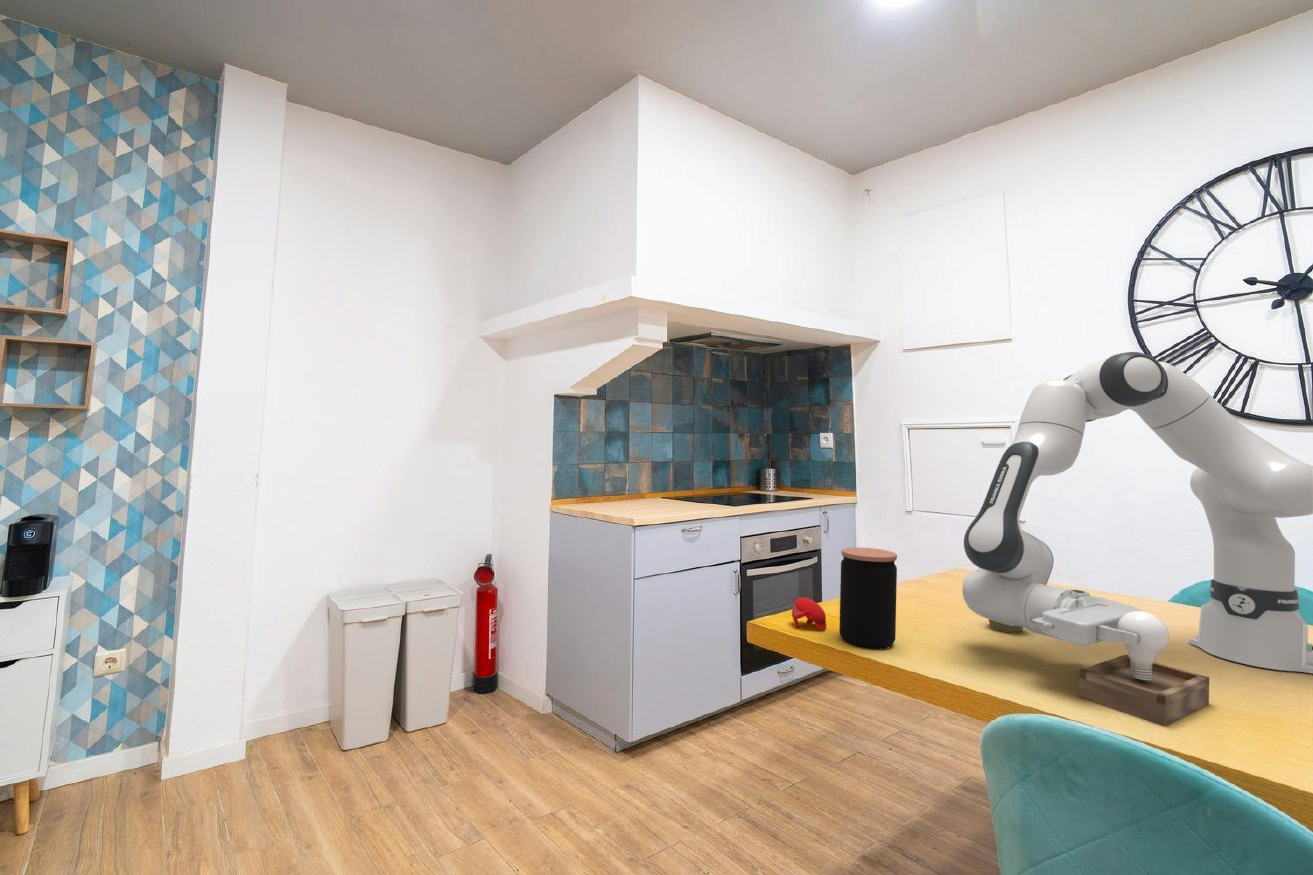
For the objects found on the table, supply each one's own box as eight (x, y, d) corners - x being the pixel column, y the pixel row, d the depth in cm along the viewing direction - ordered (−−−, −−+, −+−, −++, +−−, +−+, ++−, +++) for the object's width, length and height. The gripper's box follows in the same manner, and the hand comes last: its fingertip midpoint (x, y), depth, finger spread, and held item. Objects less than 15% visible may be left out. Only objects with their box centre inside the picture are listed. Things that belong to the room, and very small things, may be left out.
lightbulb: (1171, 693, 88) (1174, 619, 88) (1117, 681, 91) (1121, 611, 92) (1162, 680, 93) (1165, 611, 94) (1112, 670, 97) (1115, 603, 97)
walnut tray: (1125, 678, 101) (1125, 654, 101) (1208, 703, 92) (1209, 677, 92) (1078, 696, 93) (1079, 669, 93) (1164, 725, 84) (1165, 696, 84)
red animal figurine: (782, 610, 126) (801, 602, 122) (794, 596, 131) (813, 588, 127) (804, 642, 125) (825, 634, 121) (816, 627, 129) (836, 619, 125)
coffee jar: (903, 641, 118) (905, 552, 118) (882, 654, 110) (884, 559, 110) (852, 629, 125) (854, 545, 125) (829, 640, 117) (831, 551, 117)
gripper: (1023, 601, 99) (1120, 624, 87) (1084, 589, 109) (1178, 608, 97) (1022, 638, 99) (1119, 666, 87) (1083, 622, 109) (1177, 646, 97)
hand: (1151, 635), depth 92 cm, fingers open, 8 cm apart
